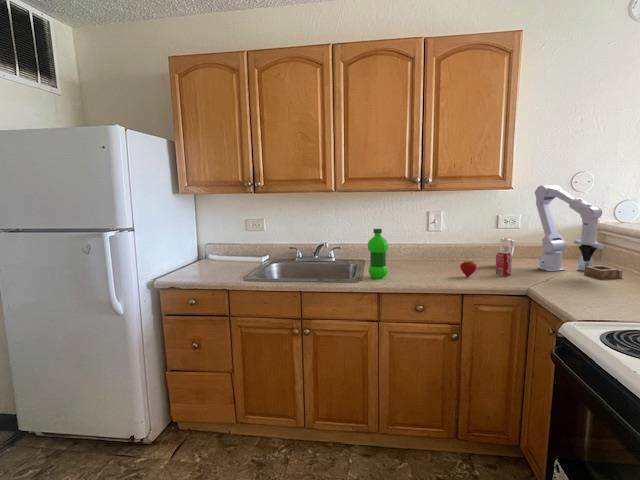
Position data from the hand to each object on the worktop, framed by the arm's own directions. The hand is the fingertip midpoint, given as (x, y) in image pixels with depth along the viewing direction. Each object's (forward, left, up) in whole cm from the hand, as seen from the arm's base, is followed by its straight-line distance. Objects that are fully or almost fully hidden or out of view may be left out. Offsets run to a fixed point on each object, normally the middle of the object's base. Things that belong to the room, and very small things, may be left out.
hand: (586, 261), depth 168 cm
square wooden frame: (+8, 0, -8) cm, 11 cm away
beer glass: (-21, +29, -8) cm, 37 cm away
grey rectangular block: (+10, +11, -8) cm, 17 cm away
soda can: (-34, +12, -8) cm, 37 cm away
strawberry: (-52, +13, -8) cm, 54 cm away
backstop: (+13, 0, -8) cm, 15 cm away
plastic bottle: (-95, +23, -8) cm, 98 cm away
